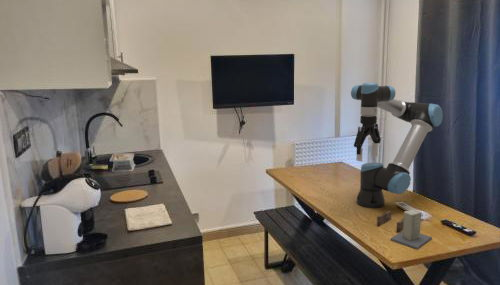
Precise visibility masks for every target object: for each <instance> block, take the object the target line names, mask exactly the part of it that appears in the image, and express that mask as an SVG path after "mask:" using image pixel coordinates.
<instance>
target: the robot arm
mask: <svg viewBox="0 0 500 285" xmlns="http://www.w3.org/2000/svg"><path fill="white" fill-rule="evenodd" d="M350 96H351V98H352V99H354V100H356V101H360V102H361V103H360V121H359V122H360V124H362V126H357V127H358V128H357V133H356V136H355V140H354V144H353V147H354V148H356V161H359V162H363V149H364V147H363V145H364V142H365V141H366V139H367V137H369V136H370V139H371V140H372V142H371V156H372V157H378V151H379V150H378V146H379V144H381V141H382V140H381V139H382V138H381V135H380V132H379V124H378V123H377V122H378V121H377V120H378V117H377V115H378V108H379V109H381V110H383V111H386V112H388V113H390V114H391V115H392V116H393V117H395V118H397V119H399V120H401V121H404V122H405V123H409V124H411V126H410V129H409V130H408V133H407V134H406V137H405V138H404V140H403V142H402V144H401V146H400V147H399V149H398V152H397V153H396V155H395V157H394V159H393V161H392V162H389V163H388V164H387V166H386V167H384V164H383V163H382V162H366V163H363V164H362V165H361V166H360V181H359V182H360V186H359V189H360V190H359V192H358V194H357V197H356V204H358V206H361V207H364V208H371V209H377V208H378V209H379V208H382V207H384V206H385V204H386V203H385V202H386V201H385V197H384V193H383V191H386V192H389V193H391V194H397V195H401V194H403V193H405V192H407V190H408V189H409V187H410V185H411V181H412V180H411V179H412V177H411V172H410V170H409V169H410V167H411V165H412V163H413V161H414V159H415V158H416V155H417V154H418V152H419V150H420V149H421V148H420V147H421V146H422V143H423V142H424V140H425V138H426V136H427V134H428V133H429V132H432V131H433V129H434V127H439V126H440V125H441V124H442V122H443V117H444V115H443V109H442V107H441V106H440V105H439V104H436V103H435V104H434V103H433V102H432V103H425V102H424V103H421V102H412V101H411V102H409V101H403V100H398V99H395V97H396V89H395V88H394V87H393V86H391V85H379V84H378V82H364V83H362V84H359V85H357V84H356V85H354V86H352V88H351V91H350Z"/></svg>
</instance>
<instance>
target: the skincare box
mask: <svg viewBox="0 0 500 285" xmlns="http://www.w3.org/2000/svg"><path fill="white" fill-rule="evenodd" d="M403 219H404V220H403ZM403 219H402V220H403V230H402V231H403V237H404V238H406V239H408V240H413V239H417V238H420V234H421V223H422V211H419V210H417V209H409V210H406V211H403Z"/></svg>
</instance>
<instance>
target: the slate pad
mask: <svg viewBox="0 0 500 285" xmlns="http://www.w3.org/2000/svg"><path fill="white" fill-rule="evenodd" d="M432 238H433V236H430V235H427V234H423V233H420V238H417V239H413V240H408V239H406V238H404V237H403V230H402V231H400V232H399V233H398V232H397V234H395V235H393V236H392V237H390V241H392V242H394V243H397V244H400V245H403V246H406V247H409V248H412V249H415V250H419V249H420V248H421V247H423V246H424V245H426V244H427V243H429V242H431V241H432V240H433V239H432Z"/></svg>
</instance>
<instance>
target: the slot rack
mask: <svg viewBox="0 0 500 285" xmlns="http://www.w3.org/2000/svg"><path fill="white" fill-rule="evenodd" d="M392 212H393V211H392V210H387V211H386V212H384V213H382V214H380V215H378V216H377V218H376V226H377V227H380V226H382V225H383V224H385V223H387V222H389V221H391V220H392V214H393V213H392ZM403 220H404V218H403V219H401V220H399V221H397V222H396V233H397V234H398V233H400V232H402V231H403Z"/></svg>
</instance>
